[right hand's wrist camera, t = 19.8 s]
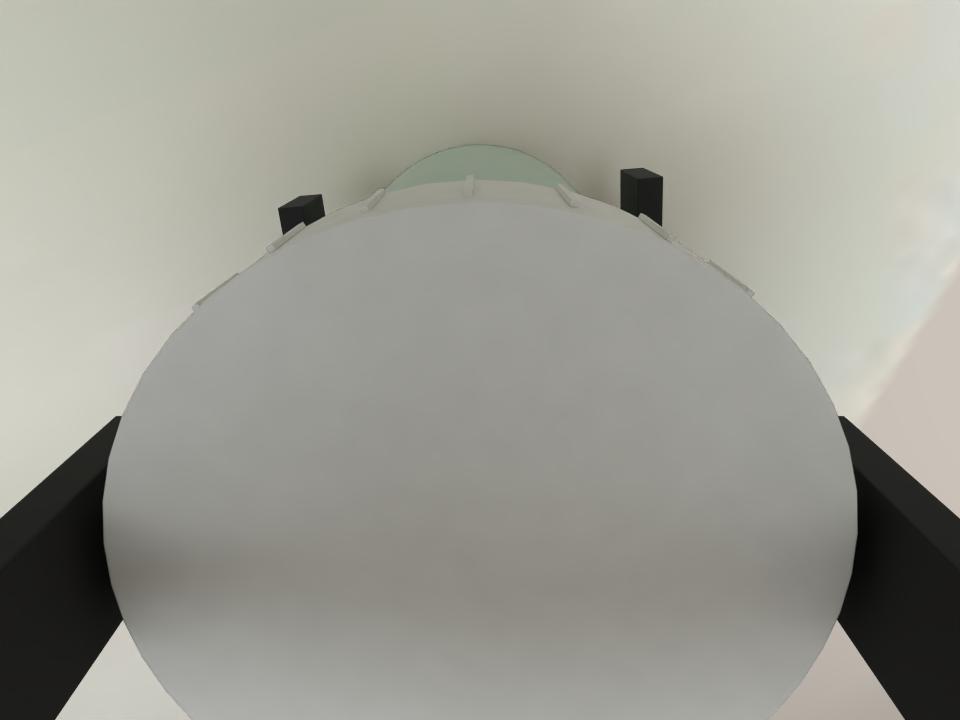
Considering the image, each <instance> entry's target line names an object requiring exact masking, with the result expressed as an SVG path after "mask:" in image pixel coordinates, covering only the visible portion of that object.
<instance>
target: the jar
mask: <svg viewBox="0 0 960 720" xmlns="http://www.w3.org/2000/svg"><path fill="white" fill-rule="evenodd" d="M467 175H474V180H490V181H510V182H524V183H530V184H535V185H540V186H546V187H551V188H556V186H557V184H563V185H564V186H565V187H566V188H567V189H568V190H569V191H571V192H574V193H577V192H576V190H575V189H574V188H573V187H572V186H571V185H570V184H569V183H568V182H567V181H566V180H565V179H564V178H563V177H562V176H561V175H559V174H558V173H557V172H556V171H554V170H553V169H552V168H550V167H549V166H548V165H546V164H545V163H543V162H541V161H539V160H538V159H536V158H534V157H532V156H530V155H527V154H525V153H522V152H520V151H517V150H513V149H509V148H506V147H501V146H492V145H466V146H460V147H454V148H450V149H447V150H444V151H440V152H437V153H435V154H433V155H430V156H428V157H426V158H424V159H422V160H420V161H419V162H417V163H416V164H414V165H412V166H411V167H409V168H408V169H407V170H406V171H404V172H403V173H402V174H401V175H400V176H399V177H397V178H396V179H395V180H394V181H393V182H392V183H391V184H390V185H389V186H388V187H387V188H386V189H385V193H387V192H391V191H396V190H400V189H405V188H409V187H414V186H418V185H423V184H429V183H441V182H453V181H465V180H466V178H467ZM577 194H578V193H577Z"/></svg>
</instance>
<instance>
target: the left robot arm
mask: <svg viewBox="0 0 960 720" xmlns="http://www.w3.org/2000/svg"><path fill="white" fill-rule="evenodd" d="M662 202H663V177H662V176H660V175H658V174H655V173H653V172H651V171H649V170H647V169H644V168H635V169H623V170H621V210H623V211H625V212H627V213H629V214H631V215H633V216H635V217H637V218H638V217H639V215H640V213H642V214H644V215H646V216H647V217H649V218H650V219H652V220H653V221H654V222H656V223H657V224H658V225H660V226H661V227H662ZM278 211H279V216H280V221H281V227H282V232H283V235H284V234H286V233H287V232H289V231H290V230H291V229H293V228H294V227H296V226H297V225H298V224H300V223H302V222H304V224H305V226H308V225H310V224H312V223H314V222H315V221H317V220H319V219H321V218H323V217H325V212H324V206H323V200H322V194H319V195H307V196H299V197H297V198H296V199H294V200H292V201H290V202H288V203H287V204H285V205H283V206H281V207H280V208H278Z"/></svg>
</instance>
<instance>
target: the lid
mask: <svg viewBox="0 0 960 720" xmlns="http://www.w3.org/2000/svg"><path fill="white" fill-rule="evenodd" d="M675 238H676V237H675V236H673V235H672V234H671V233H669V232H668V231H667V230H665V229H664V228H662V227H661V226H660V225H658V224H657V223H656V222H654V221H653V220H652V219H650V218H649V217H647V216H646V215H644V214H642V213H640V215H639V217H638V218H637V217H635V216H633V215H631V214H629V213H627V212H625V211H623V210H621V209H619V208H617V207H615V206H613V205H610V204H607V203H604V202H601V201H598V200H595V199H592V198H589V197H586V196H583V195H580V194H577V193H574V192H571V191H569V190H568V189H567V188H566V187H565V186H564V185H563V184H557V186H556V188H551V187H546V186H540V185H535V184H530V183H524V182H510V181H490V180H474V175H467V178H466V180H465V181H453V182H441V183H429V184H423V185H418V186H414V187H409V188H405V189H400V190H396V191H391V192H387V193H385V190H384V188H382V189H379V190H377V191H376V192H375V193H374V194H373V195H372V196H371V197H370V198H368V199H365V200H363V201H360V202H357V203H355V204H352V205H349V206H346V207H344V208H341V209H338V210H336V211H334V212H332V213H330V214H328V215H327V216H325V217H323V218H321V219H319V220H317V221H315V222H314V223H312V224H310V225H308V226H305V224H304V222H302V223H300V224H298V225H297V226H296V227H294V228H293V229H291V230H290V231H289V232H287V233H286V234H284V235H283V236H282V237H280V238H279V239H277V240H276V241H275V242H273V243H272V244H270V245H269V246H268V247H266V249H267V251H268V253H267V254H266V255H264V256H263V257H262V258H260V259H259V260H258V261H256V262H255V263H254V264H252V265H251V266H250V267H248V268H247V269H246V270H244V271H243V272H242V273H240V274H238V273H236V274H235V275H233V276H232V277H231V278H229V279H228V280H227V281H225V282H224V283H223V284H221V285H220V286H219V287H217V288H216V289H214V290H213V291H212V292H210V293H209V294H208V295H206V296H205V297H204V298H202V299H201V300H199V301H198V302H197V303H196V304H195V305H194V306H193V307H192V309H193V310H194V312H193V313H192V314H191V315H190V316H189V317H188V318H187V319H186V320H185V321H184V322H183V323H182V324H181V325H180V326H179V327H178V328H177V329H176V330H175V331H174V332H173V333H172V334H171V336H170V337H169V339H168V340H167V341H166V343H165V344H164V346H163V347H162V348H161V350H160V351H159V352H158V354H157V355H156V357H155V358H154V359H153V361H152V362H151V363H150V365H149V366H148V368H147V369H146V370H145V372H144V373H143V375H142V377H141V379H140V381H139V383H138V385H137V387H136V389H135V391H134V393H133V395H132V397H131V399H130V401H129V403H128V405H127V407H126V409H125V411H124V413H123V415H122V418H121V421H120V424H119V427H118V430H117V434H116V437H115V440H114V443H113V446H112V450H111V453H110V456H109V461H108V468H107V475H106V482H105V489H104V496H103V536H104V548H105V554H106V559H107V565H108V570H109V576H110V581H111V585H112V588H113V591H114V594H115V597H116V600H117V603H118V606H119V609H120V611H121V614H122V617H123V620H124V623H125V625H126V627H127V629H128V631H129V632H130V634H131V636H132V638H133V640H134V642H135V644H136V646H137V648H138V650H139V652H140V654H141V656H142V658H143V659H144V661H145V662H146V663H147V665H148V666H149V668H150V669H151V671H152V672H153V674H154V675H155V676H156V678H157V679H158V681H159V682H160V684H161V685H162V686H163V688H164V689H165V691H166V692H167V693H168V694H169V695H170V696H171V697H172V698H173V699H174V701H175V702H176V703H177V704H178V705H179V706H180V707H181V708H182V709H183V711H184V712H185V713H186V714H187V715H188V716H189V717H190V718H191V719H192V720H768V719H769V718H770V717H771V716H772V715H774V714H775V713H776V712H777V710H778V709H779V708H780V707H781V706H782V704H783V703H784V702H785V701H786V700H787V699H788V697H789V696H790V695H791V694H792V693H793V691H794V690H795V689H796V688H797V687H798V686H799V684H800V683H801V682H802V681H803V679H804V677H805V676H806V674H807V673H808V671H809V670H810V668H811V667H812V665H813V663H814V662H815V660H816V659H817V657H818V656H819V654H820V653H821V651H822V650H823V648H824V646H825V644H826V642H827V639H828V637H829V635H830V633H831V631H832V629H833V627H834V624H835V622H836V620H837V618H838V616H839V614H840V611H841V608H842V605H843V601H844V598H845V595H846V591H847V588H848V585H849V582H850V578H851V575H852V569H853V562H854V555H855V548H856V541H857V534H858V525H857V489H856V483H855V478H854V472H853V467H852V461H851V456H850V450H849V446H848V443H847V440H846V437H845V435H844V432H843V429H842V426H841V423H840V421H839V418H838V415H837V412H836V410H835V407H834V404H833V402H832V401H831V399H830V397H829V395H828V393H827V392H826V390H825V388H824V386H823V384H822V383H821V381H820V379H819V377H818V375H817V374H816V372H815V370H814V368H813V366H812V365H811V363H810V362H809V360H808V358H807V357H805V355H804V354H803V353H802V351H801V350H800V349H799V348H798V346H797V345H796V344H795V343H794V341H793V340H792V339H791V337H790V336H789V335H788V334H787V332H786V331H785V330H784V329H783V327H782V326H781V325H780V324H779V323H778V322H777V321H776V320H775V319H774V318H773V317H772V316H771V315H770V314H769V313H767V312H766V311H765V310H764V309H763V308H762V307H761V306H760V305H759V304H758V303H757V302H756V301H755V300H754V299H752V298H751V297H752V296H753V295H754V292H753V291H752V290H751V289H749V288H748V287H747V286H745V285H744V284H743V283H741V282H740V281H738V280H737V279H736V278H734V277H733V276H731V275H730V274H729V273H727V272H726V271H724V270H723V269H722V268H720V267H719V266H718V265H716V264H715V263H713V262H712V261H709V262H708V263H707V262H705V261H704V260H702V259H701V258H700V257H698V256H697V255H696V254H694V253H693V252H692V251H690V250H689V249H687V248H686V247H684V246H683V245H682V244H680V243H679V242H677V241H676V240H675Z"/></svg>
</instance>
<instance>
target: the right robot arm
mask: <svg viewBox="0 0 960 720" xmlns="http://www.w3.org/2000/svg"><path fill="white" fill-rule="evenodd" d="M121 418H122V416H116V417H115V418H113V419H112V420H111V421H110V422H109V423H108V424H107V425H106V426H104V427H103V428H102V429H101V430H100V431H99V432H98V433H96V434H95V435H94V436H93V437H92V438H91V439H90V440H89V441H87V442H86V443H85V444H84V445H83V446H82V447H81V448H80V449H78V450H77V451H76V452H75V453H74V454H73V455H72V456H70V457H69V458H68V459H67V460H66V461H65V462H64V463H63V464H61V465H60V466H59V467H58V468H57V469H56V470H55V471H54V472H52V473H51V474H50V475H49V476H48V477H47V478H46V479H44V480H43V481H42V482H41V483H40V484H39V485H38V486H37V487H35V488H34V489H33V490H32V491H31V492H30V493H29V494H28V495H26V496H25V497H24V498H23V499H22V500H21V501H20V502H18V503H17V504H16V505H15V506H14V507H13V508H12V509H11V510H9V511H8V512H7V513H6V514H5V515H4V516H3V517H2V518H0V720H55V719H56V717H57V716H58V714H59V713H60V712H61V710H62V709H63V707H64V706H65V704H66V703H67V701H68V700H69V698H70V697H71V695H72V694H73V692H74V691H75V689H76V688H77V687H78V685H79V684H80V682H81V681H82V679H83V678H84V676H85V675H86V673H87V672H88V670H89V669H90V667H91V666H92V664H93V663H94V662H95V660H96V659H97V657H98V656H99V654H100V653H101V651H102V650H103V648H104V647H105V645H106V644H107V642H108V641H109V639H110V638H111V636H112V635H113V634H114V632H115V631H116V629H117V628H118V626H119V625H120V623H121V622H122V620H123V617H122V614H121V611H120V609H119V606H118V603H117V600H116V597H115V594H114V591H113V588H112V585H111V581H110V576H109V570H108V565H107V559H106V554H105V548H104V536H103V496H104V489H105V482H106V475H107V468H108V461H109V456H110V453H111V450H112V446H113V443H114V440H115V437H116V434H117V430H118V427H119V424H120V421H121ZM838 418H839V421H840V423H841V426H842V429H843V432H844V435H845V437H846V440H847V443H848V446H849V450H850V456H851V461H852V467H853V472H854V478H855V483H856V489H857V525H858V534H857V541H856V548H855V555H854V562H853V569H852V575H851V578H850V582H849V585H848V588H847V591H846V595H845V598H844V601H843V605H842V608H841V611H840V614H839V616H838V618H837V620H838V622H839V623H840V625H841V626H842V628H843V629H844V631H845V632H846V634H847V635H848V636H849V638H850V639H851V641H852V642H853V644H854V645H855V647H856V648H857V650H858V651H859V653H860V654H861V656H862V657H863V659H864V660H865V662H866V663H867V664H868V666H869V667H870V669H871V670H872V672H873V673H874V675H875V676H876V677H877V679H878V681H879V682H880V684H881V685H882V686H883V688H884V689H885V691H886V692H887V694H888V695H889V697H890V698H891V700H892V701H893V703H894V704H895V706H896V707H897V709H898V710H899V712H900V713H901V714H902V716H903V717H904V719H905V720H960V518H958V517H957V516H956V515H955V514H954V513H953V512H952V511H951V510H949V509H948V508H947V507H946V506H945V505H944V504H943V503H941V502H940V501H939V500H938V499H937V498H936V497H935V496H934V495H932V494H931V493H930V492H929V491H928V490H927V489H926V488H924V487H923V486H922V485H921V484H920V483H919V482H918V481H917V480H916V479H914V478H913V477H912V476H911V475H910V474H909V473H908V472H906V471H905V470H904V469H903V468H902V467H901V466H900V465H899V464H897V463H896V462H895V461H894V460H893V459H892V458H891V457H890V456H888V455H887V454H886V453H885V452H884V451H883V450H882V449H880V448H879V447H878V446H877V445H876V444H875V443H874V442H873V441H871V440H870V439H869V438H868V437H867V436H866V435H865V434H864V433H862V432H861V431H860V430H859V429H858V428H857V427H856V426H854V425H853V424H852V423H851V422H850V421H849V420H848V419H847V418H845V417H844V416H838Z"/></svg>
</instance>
